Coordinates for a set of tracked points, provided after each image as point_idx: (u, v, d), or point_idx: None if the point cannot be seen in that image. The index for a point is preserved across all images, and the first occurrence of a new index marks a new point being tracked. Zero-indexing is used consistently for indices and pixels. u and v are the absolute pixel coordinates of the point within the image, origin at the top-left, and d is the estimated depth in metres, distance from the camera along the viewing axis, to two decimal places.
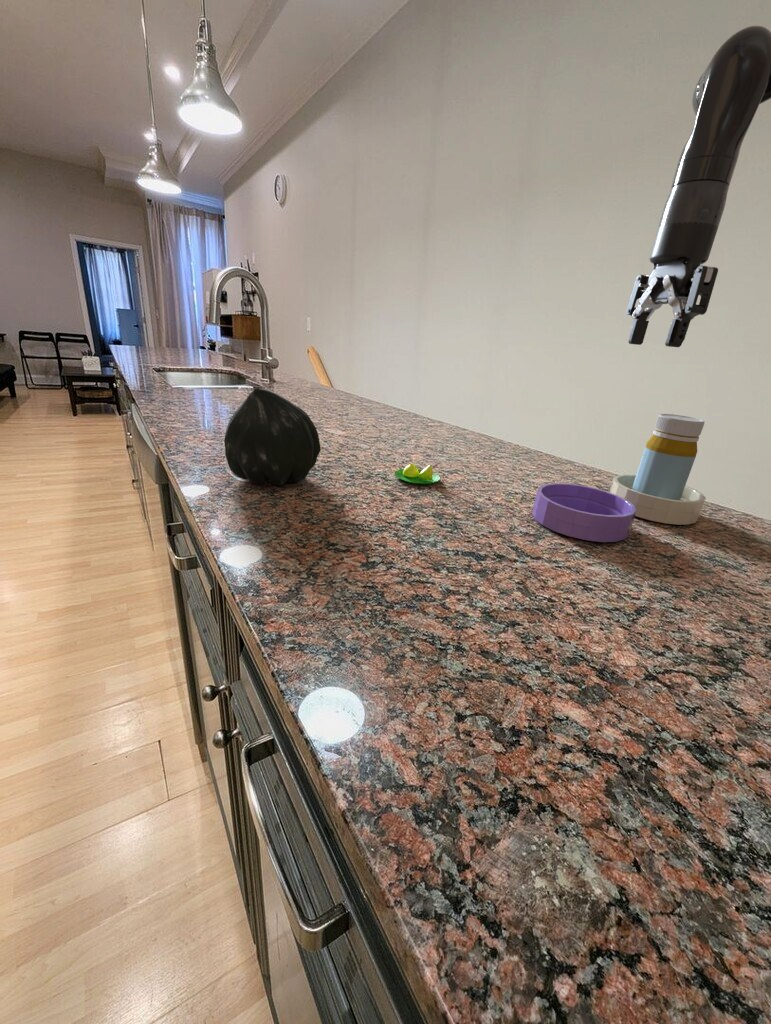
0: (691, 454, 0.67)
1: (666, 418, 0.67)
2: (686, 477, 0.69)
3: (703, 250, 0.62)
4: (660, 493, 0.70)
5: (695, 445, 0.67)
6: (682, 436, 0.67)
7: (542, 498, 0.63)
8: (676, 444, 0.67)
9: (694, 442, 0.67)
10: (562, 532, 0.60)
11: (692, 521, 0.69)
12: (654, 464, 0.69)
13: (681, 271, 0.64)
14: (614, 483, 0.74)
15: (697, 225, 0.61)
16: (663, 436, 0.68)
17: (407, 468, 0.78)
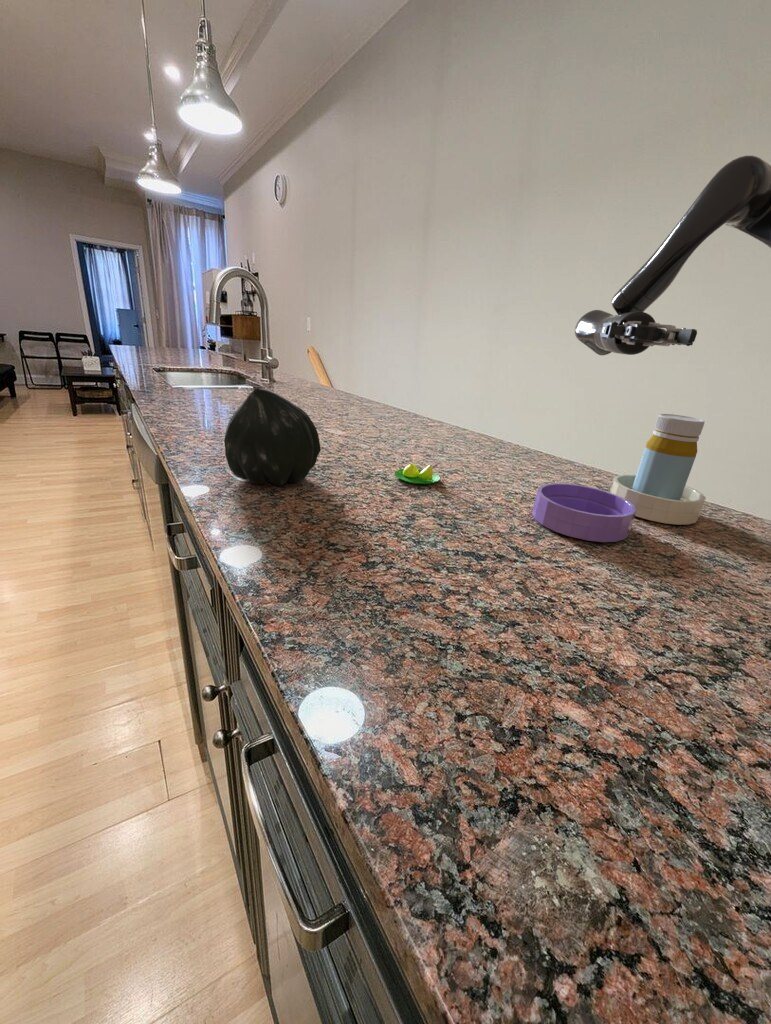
0: (691, 454, 0.67)
1: (666, 418, 0.67)
2: (686, 477, 0.69)
3: None
4: (660, 493, 0.70)
5: (695, 445, 0.67)
6: (682, 436, 0.67)
7: (542, 498, 0.63)
8: (676, 444, 0.67)
9: (694, 442, 0.67)
10: (562, 532, 0.60)
11: (692, 521, 0.69)
12: (654, 464, 0.69)
13: None
14: (614, 483, 0.74)
15: (607, 338, 0.87)
16: (663, 436, 0.68)
17: (407, 468, 0.78)
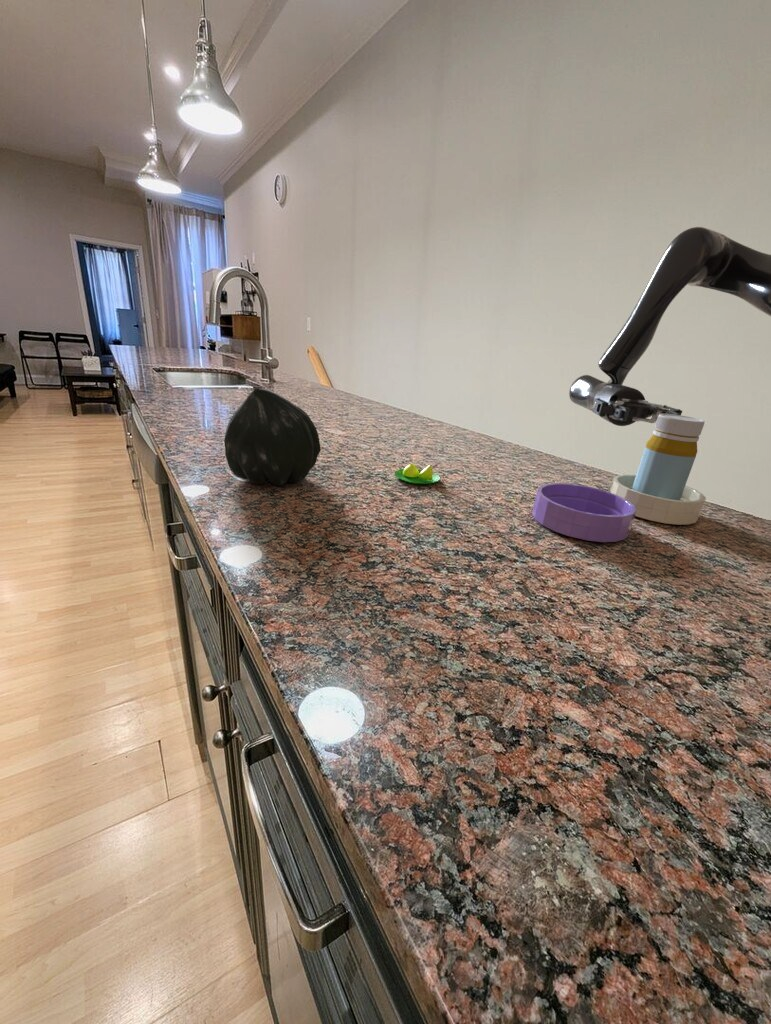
0: (691, 454, 0.67)
1: (666, 418, 0.67)
2: (686, 477, 0.69)
3: (606, 401, 0.89)
4: (660, 493, 0.70)
5: (695, 445, 0.67)
6: (682, 436, 0.67)
7: (542, 498, 0.63)
8: (676, 444, 0.67)
9: (694, 442, 0.67)
10: (562, 532, 0.60)
11: (692, 521, 0.69)
12: (654, 464, 0.69)
13: None
14: (614, 483, 0.74)
15: None
16: (663, 436, 0.68)
17: (407, 468, 0.78)
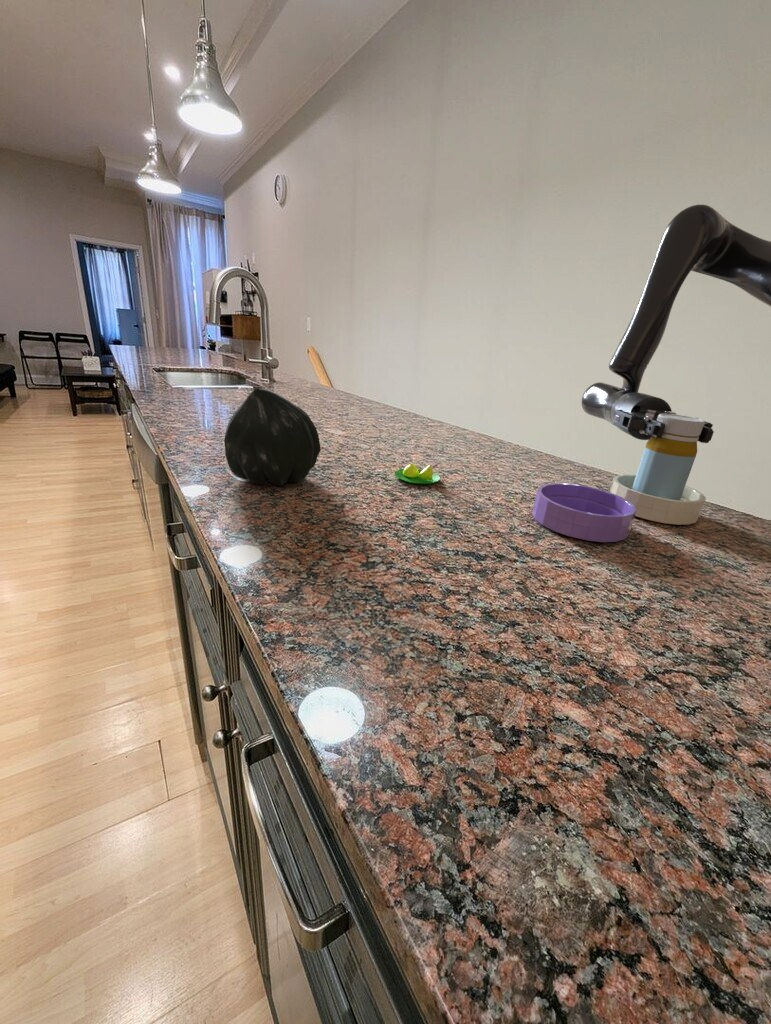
0: (691, 454, 0.67)
1: (666, 418, 0.67)
2: (686, 477, 0.69)
3: (626, 412, 0.79)
4: (660, 493, 0.70)
5: (695, 445, 0.67)
6: (682, 436, 0.67)
7: (542, 498, 0.63)
8: (676, 444, 0.67)
9: (694, 442, 0.67)
10: (562, 532, 0.60)
11: (692, 521, 0.69)
12: (654, 464, 0.69)
13: None
14: (614, 483, 0.74)
15: None
16: (663, 436, 0.68)
17: (407, 468, 0.78)
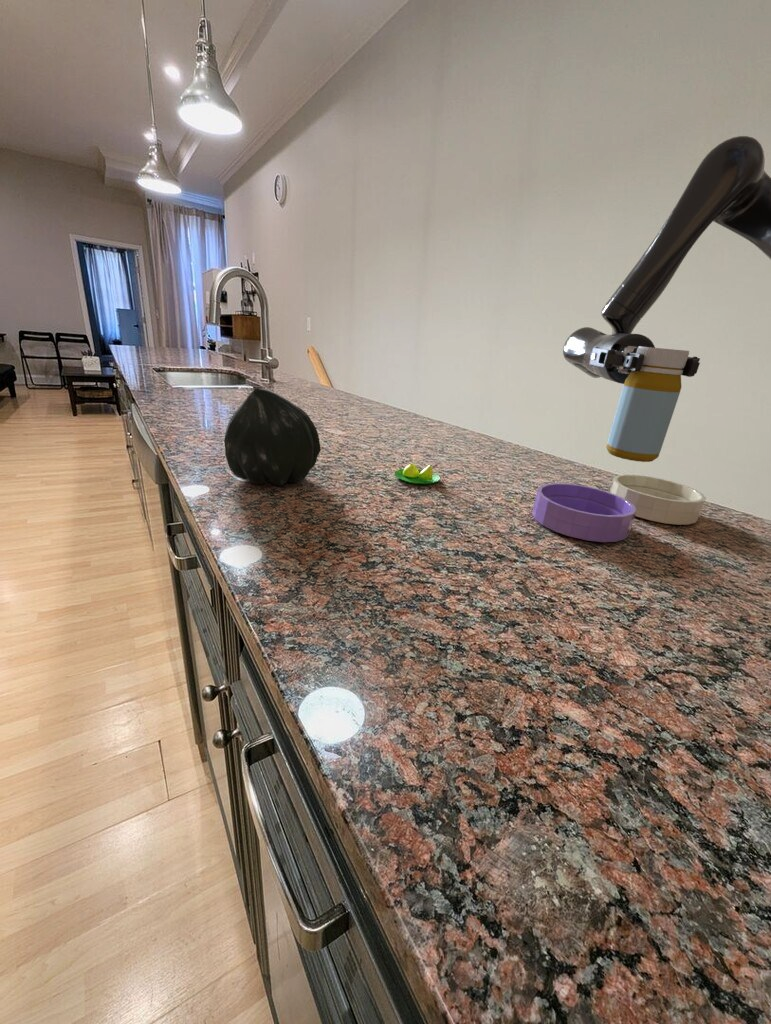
0: (674, 389, 0.59)
1: (645, 348, 0.59)
2: (669, 417, 0.61)
3: None
4: (639, 436, 0.62)
5: (678, 379, 0.59)
6: (663, 368, 0.59)
7: (542, 498, 0.63)
8: (657, 377, 0.59)
9: (677, 375, 0.59)
10: (562, 532, 0.60)
11: (692, 521, 0.69)
12: (633, 402, 0.61)
13: None
14: (614, 483, 0.74)
15: None
16: (642, 369, 0.60)
17: (407, 468, 0.78)
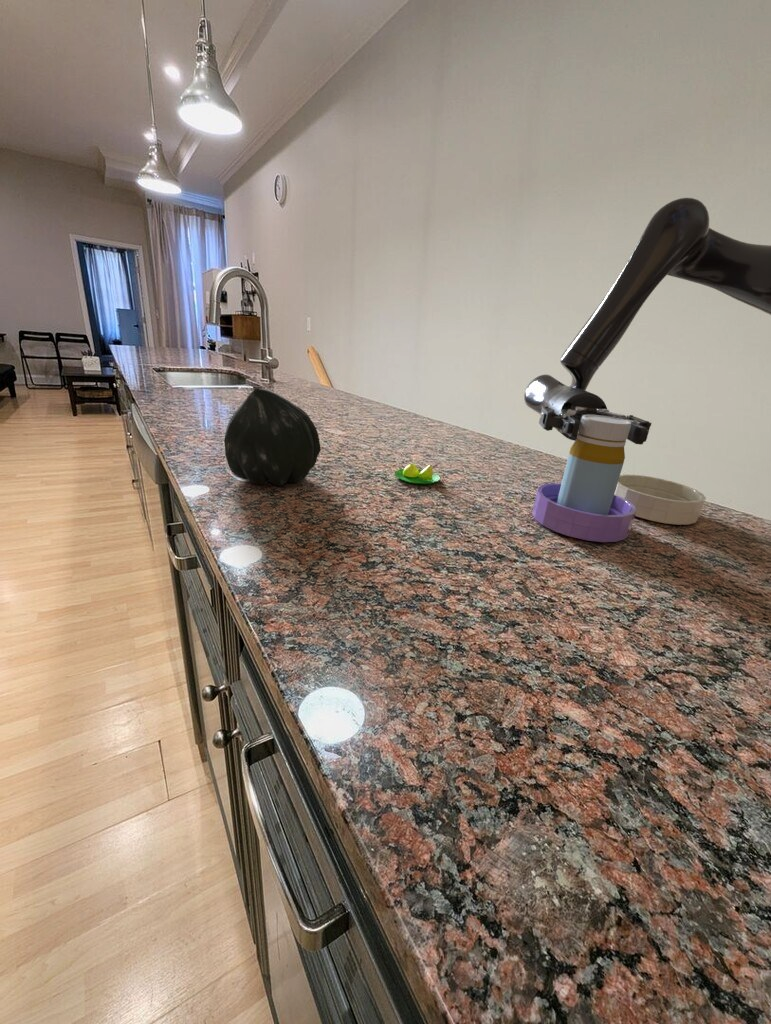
0: (616, 461, 0.59)
1: (588, 420, 0.59)
2: (612, 487, 0.60)
3: (557, 409, 0.70)
4: (583, 505, 0.61)
5: (621, 451, 0.59)
6: (605, 441, 0.58)
7: (542, 498, 0.63)
8: (598, 449, 0.58)
9: (619, 447, 0.59)
10: (562, 532, 0.60)
11: (692, 521, 0.69)
12: (577, 472, 0.61)
13: None
14: None
15: None
16: (585, 440, 0.60)
17: (407, 468, 0.78)
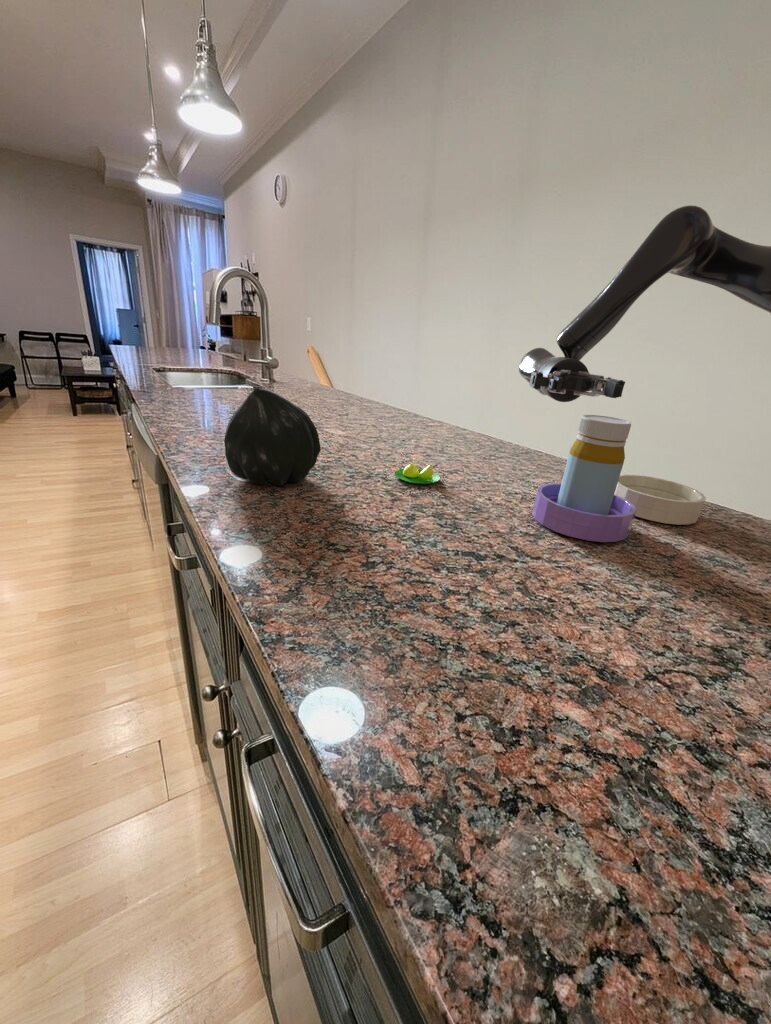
0: (616, 461, 0.59)
1: (588, 420, 0.59)
2: (612, 487, 0.60)
3: (546, 374, 0.80)
4: (583, 505, 0.61)
5: (621, 451, 0.59)
6: (605, 441, 0.58)
7: (542, 498, 0.63)
8: (598, 449, 0.58)
9: (619, 447, 0.59)
10: (562, 532, 0.60)
11: (692, 521, 0.69)
12: (577, 472, 0.61)
13: None
14: None
15: None
16: (585, 440, 0.60)
17: (407, 468, 0.78)
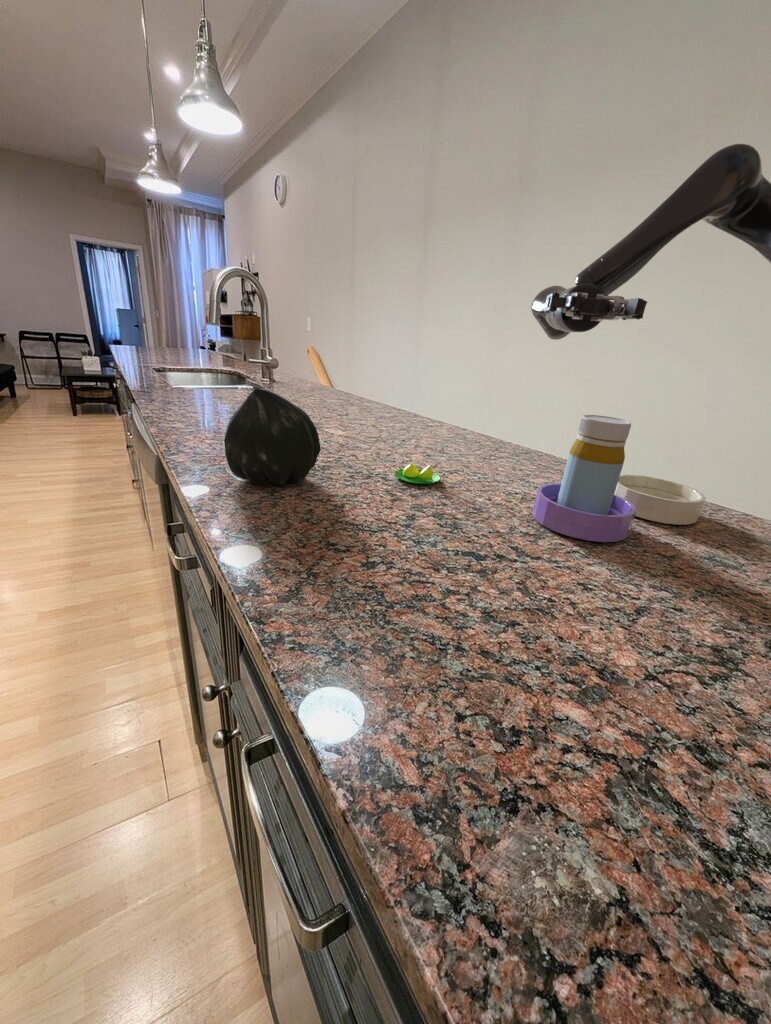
0: (616, 461, 0.59)
1: (588, 420, 0.59)
2: (612, 487, 0.60)
3: None
4: (583, 505, 0.61)
5: (621, 451, 0.59)
6: (605, 441, 0.58)
7: (542, 498, 0.63)
8: (598, 449, 0.58)
9: (619, 447, 0.59)
10: (562, 532, 0.60)
11: (692, 521, 0.69)
12: (577, 472, 0.61)
13: None
14: None
15: (555, 315, 0.79)
16: (585, 440, 0.60)
17: (407, 468, 0.78)
